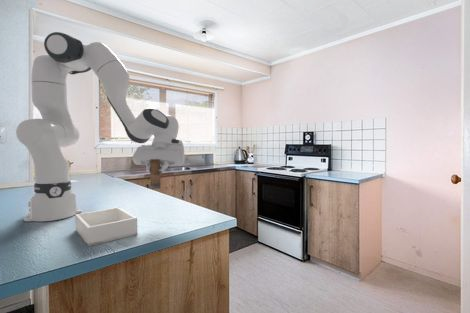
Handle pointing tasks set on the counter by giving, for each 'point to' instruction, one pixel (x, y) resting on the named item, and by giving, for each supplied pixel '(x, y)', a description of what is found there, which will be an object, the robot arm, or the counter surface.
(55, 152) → the robot arm
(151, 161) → the brown wooden block
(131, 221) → the bin
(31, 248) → the counter surface
